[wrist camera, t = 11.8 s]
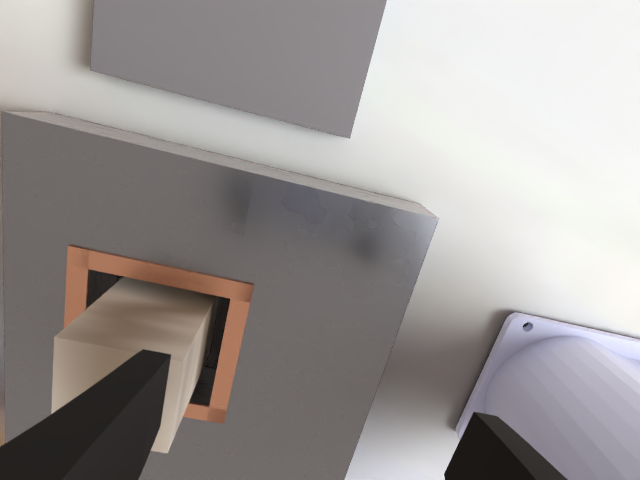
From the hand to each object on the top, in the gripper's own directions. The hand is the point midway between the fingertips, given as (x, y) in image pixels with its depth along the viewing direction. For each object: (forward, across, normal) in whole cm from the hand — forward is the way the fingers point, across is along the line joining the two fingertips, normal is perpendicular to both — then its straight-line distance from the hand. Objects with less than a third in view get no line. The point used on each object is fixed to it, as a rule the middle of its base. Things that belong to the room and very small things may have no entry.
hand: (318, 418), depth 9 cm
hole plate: (+9, +4, +4) cm, 11 cm away
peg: (+10, +6, +4) cm, 12 cm away
